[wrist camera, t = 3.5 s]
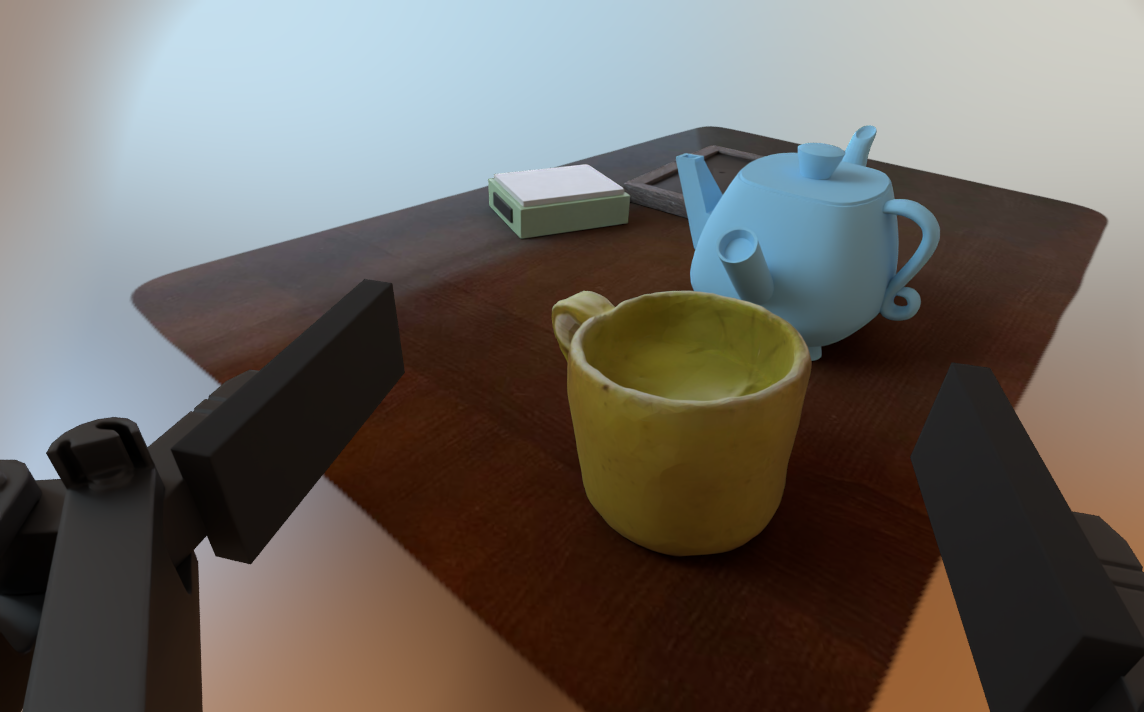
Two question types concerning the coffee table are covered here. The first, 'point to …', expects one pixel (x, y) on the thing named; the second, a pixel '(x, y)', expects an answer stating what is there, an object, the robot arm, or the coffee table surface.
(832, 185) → the teapot
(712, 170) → the picture frame
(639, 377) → the mug
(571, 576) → the coffee table surface
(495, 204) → the scale
